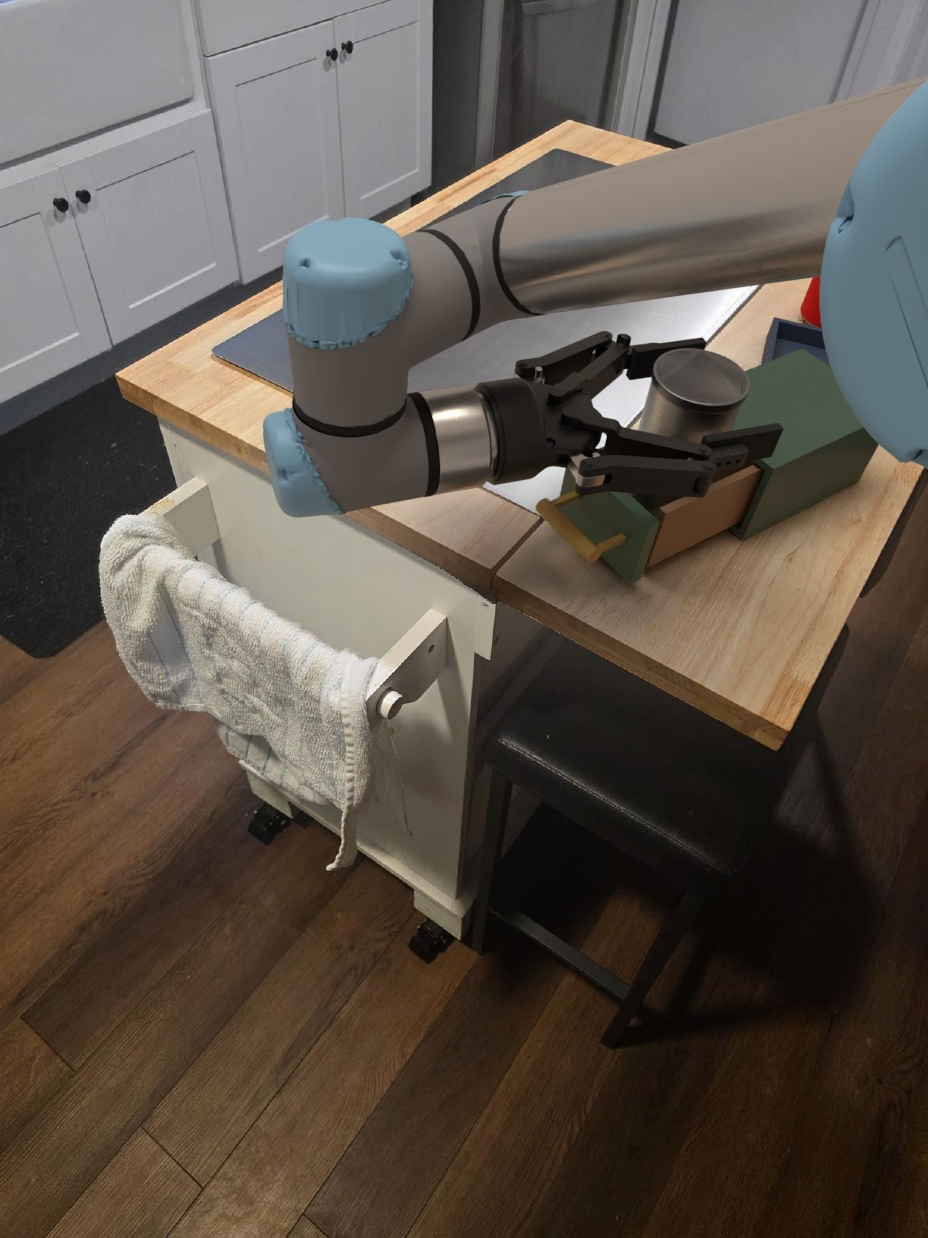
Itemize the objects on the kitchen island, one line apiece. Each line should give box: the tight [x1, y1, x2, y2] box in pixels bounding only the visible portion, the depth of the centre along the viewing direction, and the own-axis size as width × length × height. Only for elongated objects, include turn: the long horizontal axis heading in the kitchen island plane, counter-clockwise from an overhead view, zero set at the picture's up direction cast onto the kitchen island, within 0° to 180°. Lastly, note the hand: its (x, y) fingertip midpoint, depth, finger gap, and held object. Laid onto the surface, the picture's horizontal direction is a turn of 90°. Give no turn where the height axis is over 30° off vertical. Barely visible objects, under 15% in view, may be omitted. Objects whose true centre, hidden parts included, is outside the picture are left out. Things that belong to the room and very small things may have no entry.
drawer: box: [535, 446, 765, 585], centre depth 75 cm, size 20×10×7 cm, turn 124°
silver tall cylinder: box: [628, 348, 750, 518], centre depth 73 cm, size 8×8×14 cm
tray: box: [760, 316, 831, 367], centre depth 95 cm, size 15×12×3 cm
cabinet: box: [727, 349, 880, 541], centre depth 82 cm, size 16×11×8 cm
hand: (735, 394), depth 70 cm, fingers open, 11 cm apart
